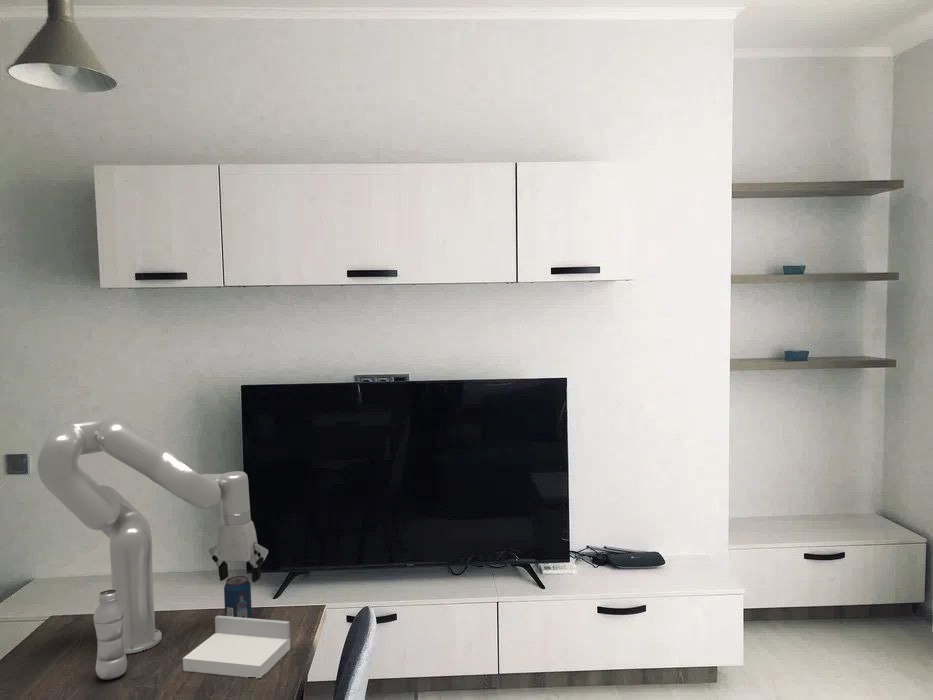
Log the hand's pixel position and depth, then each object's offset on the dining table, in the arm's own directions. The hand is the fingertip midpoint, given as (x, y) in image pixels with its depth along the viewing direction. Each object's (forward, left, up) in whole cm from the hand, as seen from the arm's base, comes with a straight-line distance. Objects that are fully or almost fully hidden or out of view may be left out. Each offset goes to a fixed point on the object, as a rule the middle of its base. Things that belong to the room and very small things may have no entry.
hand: (240, 579), depth 195 cm
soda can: (-1, -1, -12) cm, 12 cm away
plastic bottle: (-15, -32, -12) cm, 38 cm away
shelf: (+10, -20, -12) cm, 25 cm away
